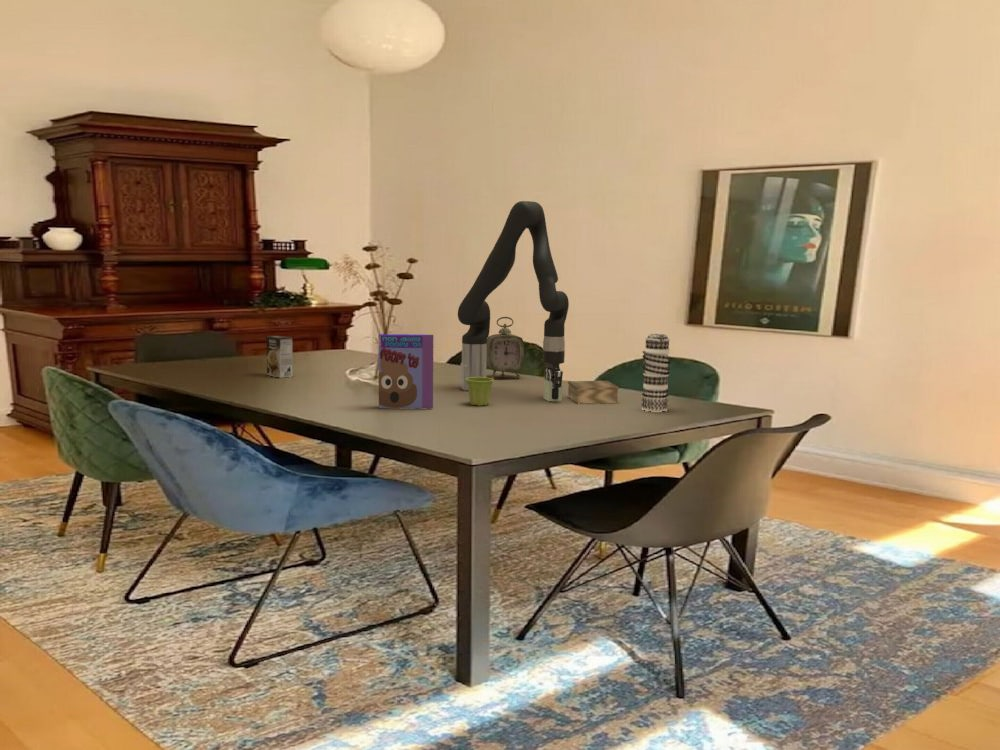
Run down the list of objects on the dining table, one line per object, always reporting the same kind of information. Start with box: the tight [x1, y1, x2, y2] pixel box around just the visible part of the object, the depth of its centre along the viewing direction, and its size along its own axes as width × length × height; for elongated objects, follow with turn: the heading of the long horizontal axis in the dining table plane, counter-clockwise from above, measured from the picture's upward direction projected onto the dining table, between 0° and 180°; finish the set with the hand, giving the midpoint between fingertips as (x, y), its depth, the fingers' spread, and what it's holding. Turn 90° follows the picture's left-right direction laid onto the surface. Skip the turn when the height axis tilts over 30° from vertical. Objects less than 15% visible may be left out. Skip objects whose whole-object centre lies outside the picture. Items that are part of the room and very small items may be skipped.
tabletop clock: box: [487, 316, 526, 380], centre depth 345 cm, size 14×9×25 cm, turn 103°
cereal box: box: [378, 333, 434, 410], centre depth 277 cm, size 17×5×24 cm, turn 94°
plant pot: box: [466, 376, 495, 407], centre depth 287 cm, size 9×9×9 cm
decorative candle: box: [641, 333, 672, 413], centre depth 281 cm, size 9×9×25 cm
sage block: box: [543, 378, 563, 402], centre depth 297 cm, size 5×5×7 cm
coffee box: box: [265, 335, 294, 378], centre depth 340 cm, size 9×6×16 cm
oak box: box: [567, 380, 619, 404], centre depth 299 cm, size 14×14×6 cm
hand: (552, 397), depth 298 cm, fingers closed on sage block, 5 cm apart
